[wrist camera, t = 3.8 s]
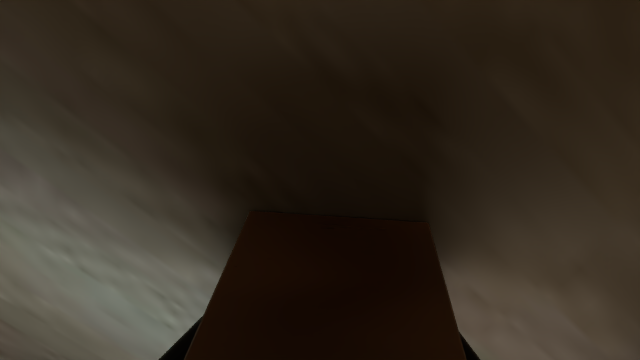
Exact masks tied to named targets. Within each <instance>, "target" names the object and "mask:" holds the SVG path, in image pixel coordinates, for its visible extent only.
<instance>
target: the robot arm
mask: <svg viewBox="0 0 640 360" xmlns="http://www.w3.org/2000/svg"><path fill="white" fill-rule="evenodd" d="M202 318H203V316H202V317H201V318H200V319H199V320H198V321H197V322H196V323H195V324H194V325H193V326H192V327H191V328H190V329H189V330H188V331H187V332H186V333H185V334H184V335H183V336H182V337H181V338H180V339H179V340H178V341H177V342H176V343H175V344H174V345H173V346H172V347H171V348H170V349H169V350H168V351H167V352H166V353H165V354H164V355H163V356H162V357H161V358H160V359H159V360H184V358H185V356H186V354H187V351H188V349H189V347H190V345H191V342H192V340H193V338H194V336H195V333H196V331H197V329H198V327H199V324H200V322H201V320H202ZM459 334H460V332H459ZM460 338H461V341H462V345H463V349H464V352H465V356H466V359H467V360H480V359H479V357H478V356H477V355H476V353H475V352H474V351H473V349H472V348H471V347H470V345H469V344H468V343H467V342H466V340H465V339H464V338H463V336H462V335H461V334H460Z"/></svg>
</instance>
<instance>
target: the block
mask: <svg viewBox="0 0 640 360" xmlns="http://www.w3.org/2000/svg"><path fill="white" fill-rule="evenodd" d="M184 360H467V359H466V356H465V352H464V349H463V345H462V341H461V338H460V334H459V331H458V327H457V323H456V320H455V316H454V313H453V309H452V305H451V302H450V298H449V295H448V291H447V287H446V284H445V280H444V277H443V273H442V269H441V266H440V262H439V259H438V255H437V251H436V248H435V244H434V241H433V237H432V234H431V230H430V226H429V224H428V223H426V222H411V221H396V220H381V219H366V218H352V217H337V216H322V215H307V214H292V213H277V212H262V211H250V212H249V214H248V216H247V219H246V221H245V223H244V225H243V228H242V230H241V232H240V234H239V237H238V239H237V241H236V243H235V246H234V248H233V250H232V252H231V255H230V257H229V259H228V261H227V264H226V266H225V268H224V270H223V273H222V275H221V277H220V279H219V282H218V284H217V286H216V288H215V291H214V293H213V295H212V297H211V300H210V302H209V304H208V306H207V309H206V311H205V313H204V315H203V318H202V320H201V322H200V324H199V327H198V329H197V331H196V333H195V336H194V338H193V340H192V342H191V345H190V347H189V349H188V351H187V354H186V356H185V358H184Z"/></svg>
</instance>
